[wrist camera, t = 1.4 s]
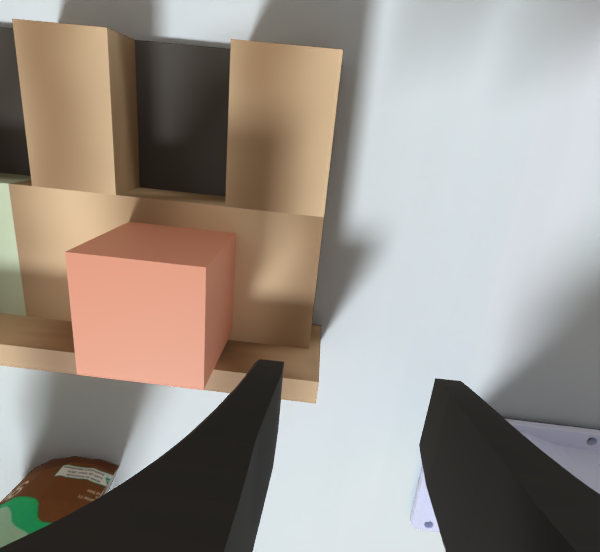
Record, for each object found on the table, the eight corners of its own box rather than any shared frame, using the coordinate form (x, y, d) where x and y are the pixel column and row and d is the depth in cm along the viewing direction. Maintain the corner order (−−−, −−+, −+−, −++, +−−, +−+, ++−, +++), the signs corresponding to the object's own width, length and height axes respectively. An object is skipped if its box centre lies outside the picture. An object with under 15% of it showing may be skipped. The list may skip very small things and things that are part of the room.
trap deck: (353, 61, 17) (362, 36, 13) (319, 343, 22) (316, 403, 17) (-130, 15, 18) (-294, -24, 13) (-69, 298, 22) (-176, 344, 18)
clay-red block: (236, 233, 17) (206, 267, 13) (232, 331, 19) (203, 389, 15) (128, 221, 18) (64, 251, 13) (133, 319, 19) (76, 374, 15)
